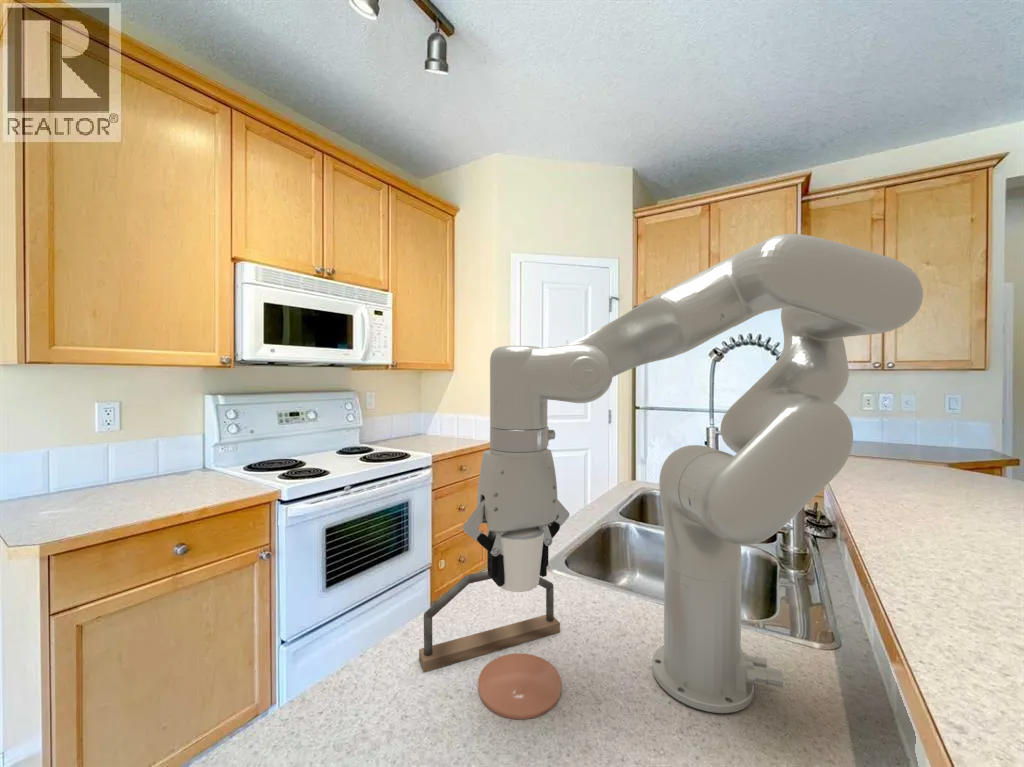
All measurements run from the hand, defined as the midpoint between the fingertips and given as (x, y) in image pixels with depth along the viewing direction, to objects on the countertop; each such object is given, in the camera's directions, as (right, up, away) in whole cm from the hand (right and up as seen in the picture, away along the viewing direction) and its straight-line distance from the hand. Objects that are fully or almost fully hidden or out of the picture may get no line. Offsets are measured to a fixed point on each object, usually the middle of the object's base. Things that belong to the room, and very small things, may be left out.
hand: (518, 575), depth 57 cm
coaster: (0, -15, 0) cm, 15 cm away
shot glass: (0, -1, 0) cm, 1 cm away
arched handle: (-4, -15, +9) cm, 18 cm away
